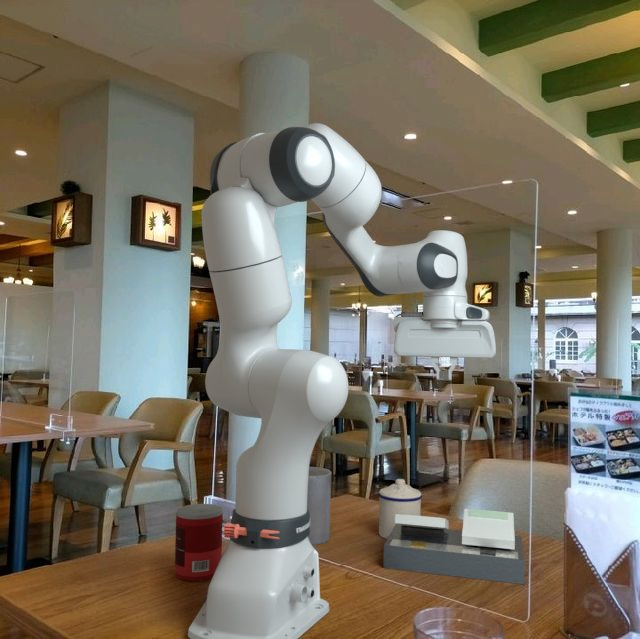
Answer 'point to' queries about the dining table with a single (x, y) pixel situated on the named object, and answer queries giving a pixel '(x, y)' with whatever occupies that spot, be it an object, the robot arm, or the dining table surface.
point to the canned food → (198, 541)
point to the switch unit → (451, 555)
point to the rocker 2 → (488, 529)
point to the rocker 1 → (422, 521)
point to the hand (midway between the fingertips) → (444, 380)
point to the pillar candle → (319, 504)
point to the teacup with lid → (397, 505)
